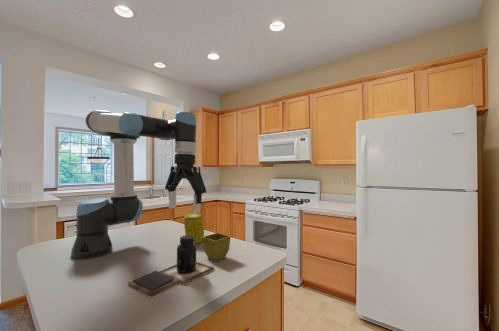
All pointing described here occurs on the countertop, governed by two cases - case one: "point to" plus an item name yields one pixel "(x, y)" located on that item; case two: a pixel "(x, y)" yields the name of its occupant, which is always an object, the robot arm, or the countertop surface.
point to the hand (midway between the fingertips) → (184, 210)
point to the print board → (187, 278)
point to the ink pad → (153, 280)
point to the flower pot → (216, 245)
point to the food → (194, 226)
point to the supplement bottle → (186, 255)
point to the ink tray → (154, 292)
